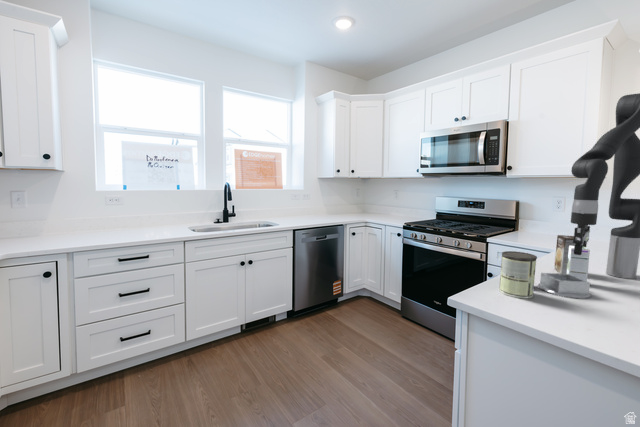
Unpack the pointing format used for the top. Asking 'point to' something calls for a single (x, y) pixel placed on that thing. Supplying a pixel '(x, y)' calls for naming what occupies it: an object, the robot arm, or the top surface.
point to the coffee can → (517, 274)
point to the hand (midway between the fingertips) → (579, 253)
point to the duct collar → (564, 285)
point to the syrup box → (578, 263)
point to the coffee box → (562, 252)
